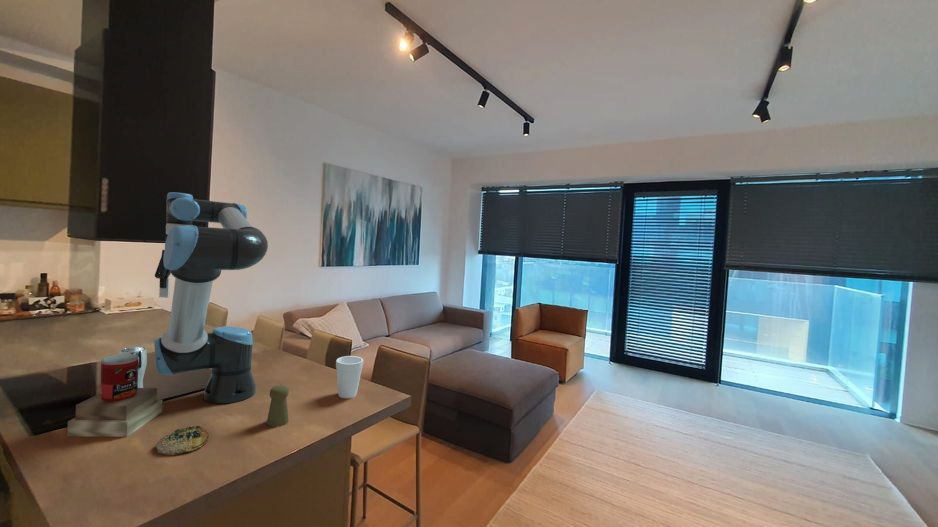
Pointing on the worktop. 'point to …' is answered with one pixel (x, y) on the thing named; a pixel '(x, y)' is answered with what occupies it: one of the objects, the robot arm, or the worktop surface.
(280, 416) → the green pawn
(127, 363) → the canned food
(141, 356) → the beer glass
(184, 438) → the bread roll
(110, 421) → the stack of wooden planks
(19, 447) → the worktop surface
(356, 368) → the foam cup
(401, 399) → the worktop surface
